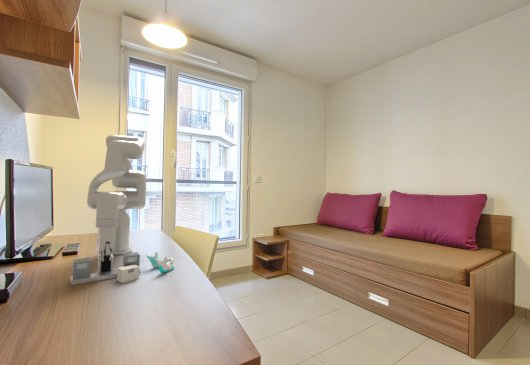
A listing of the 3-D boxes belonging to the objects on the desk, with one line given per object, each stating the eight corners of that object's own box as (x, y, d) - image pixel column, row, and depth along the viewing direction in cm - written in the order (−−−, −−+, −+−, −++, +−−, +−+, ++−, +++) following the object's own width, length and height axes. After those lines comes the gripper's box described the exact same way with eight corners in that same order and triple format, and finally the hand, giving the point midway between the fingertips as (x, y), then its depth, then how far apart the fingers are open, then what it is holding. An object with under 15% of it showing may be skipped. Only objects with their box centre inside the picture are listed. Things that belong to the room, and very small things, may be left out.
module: (97, 272, 103) (97, 255, 104) (111, 270, 106) (112, 254, 107) (98, 275, 100) (99, 258, 100) (113, 273, 103) (114, 256, 103)
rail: (70, 280, 94) (71, 259, 94) (137, 270, 107) (138, 251, 107) (70, 285, 90) (71, 262, 90) (140, 273, 103) (141, 254, 103)
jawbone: (181, 268, 109) (174, 249, 106) (164, 280, 104) (155, 260, 101) (169, 261, 117) (161, 244, 115) (152, 272, 112) (144, 253, 110)
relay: (117, 280, 96) (117, 267, 96) (133, 276, 100) (134, 264, 100) (122, 283, 93) (122, 270, 93) (139, 278, 98) (139, 266, 98)
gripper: (93, 221, 108) (91, 266, 107) (97, 225, 95) (95, 276, 94) (114, 221, 113) (112, 264, 112) (121, 224, 99) (119, 273, 98)
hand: (104, 269), depth 103 cm, fingers closed on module, 4 cm apart
